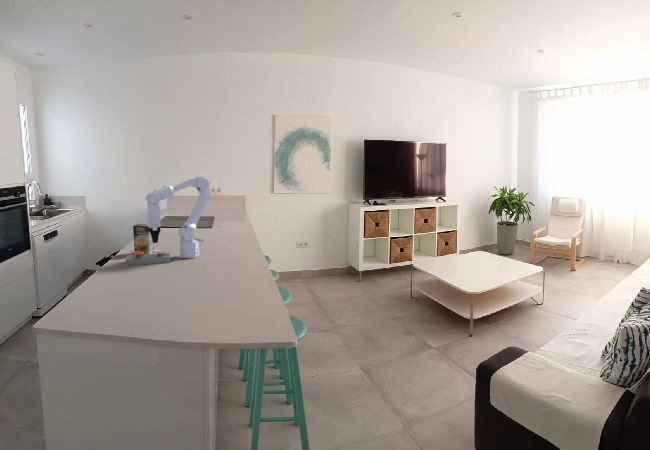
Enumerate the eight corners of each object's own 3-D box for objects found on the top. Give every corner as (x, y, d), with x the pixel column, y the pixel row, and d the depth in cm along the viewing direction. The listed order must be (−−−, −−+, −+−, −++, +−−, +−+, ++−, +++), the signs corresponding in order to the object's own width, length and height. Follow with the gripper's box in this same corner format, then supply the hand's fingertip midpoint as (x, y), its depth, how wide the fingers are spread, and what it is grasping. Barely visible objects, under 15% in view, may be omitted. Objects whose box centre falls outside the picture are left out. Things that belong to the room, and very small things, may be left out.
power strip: (169, 258, 211) (169, 251, 210) (170, 262, 203) (170, 255, 202) (127, 261, 203) (126, 254, 203) (126, 265, 195) (125, 258, 194)
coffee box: (133, 254, 217) (132, 225, 215) (140, 252, 224) (138, 223, 221) (149, 255, 216) (148, 226, 214) (155, 252, 223) (154, 224, 220)
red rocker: (143, 254, 205) (144, 252, 205) (143, 255, 202) (144, 253, 202) (130, 252, 202) (131, 250, 202) (130, 254, 200) (130, 252, 199)
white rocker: (164, 252, 209) (165, 250, 209) (165, 253, 206) (165, 251, 206) (152, 251, 206) (152, 249, 206) (152, 252, 203) (152, 250, 203)
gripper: (145, 214, 208) (146, 239, 210) (145, 218, 195) (146, 245, 197) (160, 213, 211) (161, 239, 213) (160, 217, 198) (162, 244, 200)
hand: (155, 242), depth 205 cm, fingers open, 3 cm apart
